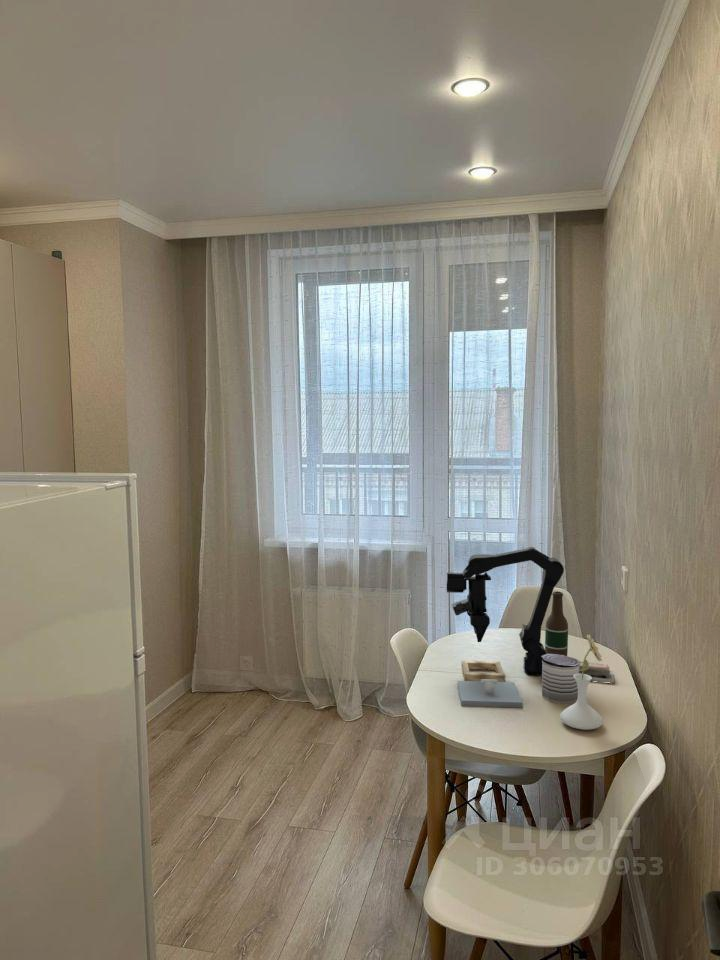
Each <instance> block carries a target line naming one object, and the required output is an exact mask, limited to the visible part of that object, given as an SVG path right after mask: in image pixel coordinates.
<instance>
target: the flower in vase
mask: <svg viewBox="0 0 720 960" xmlns="http://www.w3.org/2000/svg"><path fill="white" fill-rule="evenodd" d="M586 639H587V642H588V645H589V649H588V650H587V652H586V654H585V655H584V658H583V661H582V662H583V668H582V669H580V670H578V671H582V674H574V675H573V677H574V678H575V680H576V682H577V687H578V699H577V700H576V701H575V702H574V703H573V704H572V705H569V706H568V707H566V708H564V710H563V711H561V713H560V715H559V717H560V720H561V721H562V722H563V724H565V725H566V726H569V727H570V728H574V729H576V730H577V729H578V730H583V731H585V730H586V731H589V730H596V729H599V728H600V727H601V726H602V725H603V724H604V720H603V718H602V716H601V715H600V714H599V713H598V712H597V710H595V709H594V708H593V707H592V706H591V705H589V704H588V701H587V700H588V699H587V690H588V686H589V683H591V682H590V680H591V679H592V677H591V676H589V675H587V674H583V672H584V671H585V670H587V669H588V668H589V665H588V659H587V658H588V657H587V656H588V655H589V654H590V652H591V653H592V654H593V656H594V657H595V658H596V660H597V661H598V662H601V661H603V660H602V655H601V654H600V652H599V647H598V646H597V645H596V643H595V640H594V639H593V638H592V636H591V634H587V635H586ZM586 659H587V660H586ZM584 665H585V667H586V668H587V669H586V668H584Z"/></svg>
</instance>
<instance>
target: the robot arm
mask: <svg viewBox="0 0 720 960" xmlns="http://www.w3.org/2000/svg"><path fill="white" fill-rule="evenodd" d="M529 561H531V562H533V563H534V564H536V565H537V566H538V567H540V568H541V569H542V574H541V575H542V576H541V580H542V581H541V585H540V588H539V591H538V594H537V597H536V601H535V604H534V607H533V609H532V612H531V613H532V614H531V617H530V618H529V622H528V623H527V624H524V623H522V626H521V630H520V632H519V634H518V636H519V638H520V642H521V646H522V648H523V650H524V651H525V654H524V656H523V666H522V667H523V670H524V672H525V674H526V675H528V676H542V665H543V658H542V657H541V656H542V655H546V652H545V646H544V644H543V643H542V642H541V639H542V638H541V636H542V626H543V624H544V623H543V622H544V620H545V617H546V614H547V610H548V607H549V604H550V601H551V597H552V596H553V595H552V594H553V592H554V589H555V587H556V586H557V584H558V583H559V582H560V579H562V576H563V575H564V572H565V568H564V565H563V564H562V562H561V561H560V560H559V559H558V558H556V557H549V556H547V554H544V553H543V552H541V551H539V550H537V549H536V548H535V547H534V546H533V547H532V546H529V547H527V548H521V549H516V550H512V551H507V552H501V553H496V554H484V553H483V554H482V553H481V554H480V553H479V554H473V555H471V556H470V557H469V559H468V562H467V566H466V567H465V568H464V569H463V571H462V572H452V571H451V572H449V571H448V572H447V573H446V593H447V594H448V593H449V594H452V593H453V594H455V593H456V594H457V593H462V594H464V592H465V591H466V590H467V587H468V594H467V597H466V598H465V599H461V600H459V601H456V602H453V603H452V604H451V607H452V610H453V612H454V615H455V616H459V615H462V614H463V613H466V615H467V616H469V623H470V625H471V626H472V627H473V631H474V634H475V636H476V640H477V642H478V643H481V642H482V640H483V638H484V636H485V634H486V632H487V629H488V627H489V626H490V624H491V623H490V622H491V619H490V616H489V614H488V613H487V612H488V611H487V610H488V609H487V600H488V599H487V591H486V584H487V583H486V582H487V581H491V580H492V577H491V575H489V573H487V572H489V571H491V570H493V569H496V568H499V567H503V566H510V565H514V564H519V563H525V562H529ZM467 581H468V586H467Z"/></svg>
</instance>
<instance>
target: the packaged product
mask: <svg viewBox="0 0 720 960" xmlns="http://www.w3.org/2000/svg"><path fill="white" fill-rule="evenodd" d="M578 661H579V662H580V663H581V664H579V670H580V669H582V668H583V661H580V660H578ZM587 662H588V661H587ZM588 665H589V668H588V669H587V668H586V667H585V665H584V668H586V669H587V670H585V671H584V672H583V674H587V675H589V676H591V677H592V679H591V680H590V681H597V682H610V683H615V678H614V671H611V669H610V666H609V665H608V664H602V663H595V662H588ZM579 674H582V671H579ZM597 682H596V683H597Z"/></svg>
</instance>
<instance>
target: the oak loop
mask: <svg viewBox="0 0 720 960" xmlns="http://www.w3.org/2000/svg"><path fill="white" fill-rule="evenodd" d="M461 667H462V668H461V670H462V671H461V672H462V677H463V681H481V679H496V680H498V682H506V675H505V672H504V669H503V667H502V664H501V662H500V661H487V660H486V661H485V660H484V661H483V660H480V661H478V660H461ZM469 669H488V670H487V671H494V672H470V670H469ZM495 671H496V672H495Z"/></svg>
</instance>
